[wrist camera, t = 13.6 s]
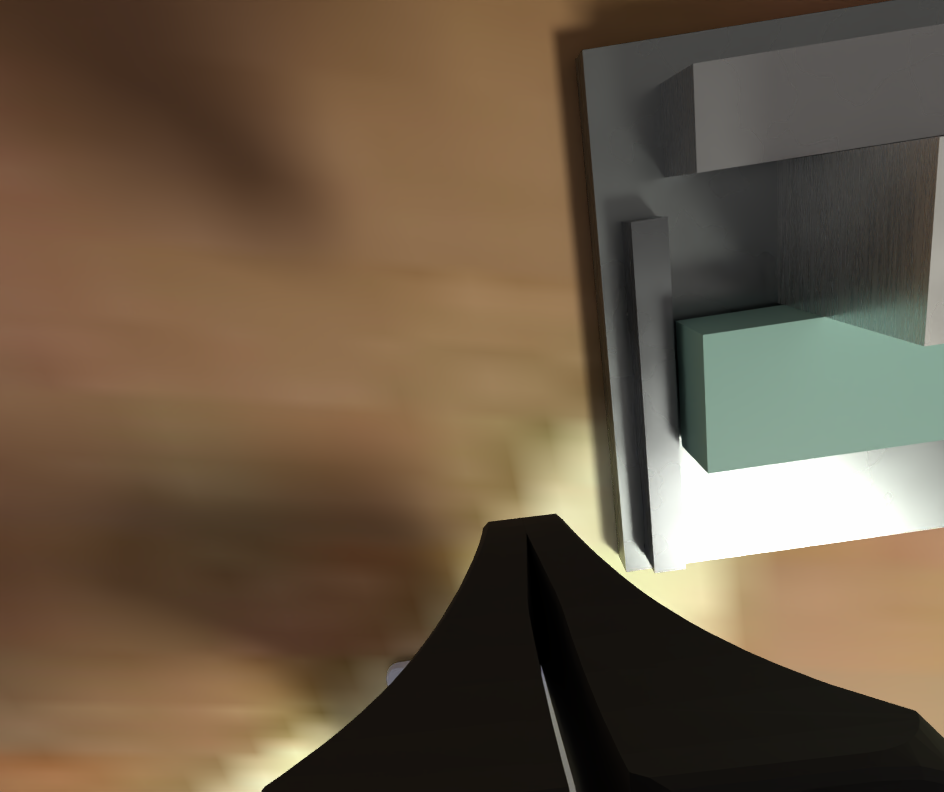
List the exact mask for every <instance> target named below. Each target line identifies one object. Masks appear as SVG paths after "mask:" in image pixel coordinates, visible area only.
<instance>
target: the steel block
mask: <svg viewBox="0 0 944 792" xmlns="http://www.w3.org/2000/svg"><path fill="white" fill-rule="evenodd" d="M778 303H779V304H783V305H786V306H790V307H793V308H796V309H800V310H803V311H806V312H810V313H813V314H816V315H820V316H823V317H827V318H830V319H833V320H837V321H840V322H843V323H847V324H850V325H854V326H857V327H860V328H864V329H867V330H870V331H874V332H877V333H881V334H884V335H887V336H891V337H894V338H897V339H901V340H904V341H908V342H911V343H914V344H918V345H921V346H931V345H938V344H944V135H943V136H936V137H930V138H923V139H917V140H910V141H904V142H897V143H891V144H884V145H878V146H872V147H865V148H859V149H852V150H846V151H839V152H833V153H826V154H820V155H813V156H807V157H800V158H794V159H788V160H781V161H778Z"/></svg>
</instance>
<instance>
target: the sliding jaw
mask: <svg viewBox="0 0 944 792" xmlns="http://www.w3.org/2000/svg"><path fill="white" fill-rule="evenodd" d="M676 338H677V358H678V378H679V399H680V419H681V439H682V447H683V448H684V449H685V450H686V451H687V452H688V453H689V454H690V455H691V456H692V457H693V458H694V459H695V460H696V462H697V463H698V464H699V465H700V466H701V467H702V468H703V469H704V470H705V471H706V472H707V473H708V474H710V473H717V472H724V471H731V470H738V469H745V468H752V467H759V466H766V465H772V464H779V463H786V462H793V461H800V460H807V459H814V458H821V457H828V456H835V455H842V454H849V453H856V452H863V451H870V450H877V449H884V448H891V447H898V446H905V445H912V444H919V443H926V442H933V441H940V440H944V344H938V345H931V346H921V345H918V344H914V343H911V342H908V341H904V340H901V339H897V338H894V337H891V336H887V335H884V334H881V333H877V332H874V331H870V330H867V329H864V328H860V327H857V326H854V325H850V324H847V323H843V322H840V321H837V320H833V319H830V318H827V317H823V316H820V315H816V314H813V313H810V312H806V311H803V310H800V309H796V308H793V307H790V306H786V305H779V306H772V307H766V308H759V309H752V310H746V311H739V312H732V313H725V314H719V315H712V316H705V317H699V318H692V319H685V320H679V321H676Z"/></svg>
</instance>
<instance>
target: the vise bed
mask: <svg viewBox="0 0 944 792" xmlns="http://www.w3.org/2000/svg"><path fill="white" fill-rule="evenodd" d="M575 60H576V71H577V82H578V94H579V105H580V117H581V128H582V140H583V151H584V163H585V174H586V186H587V197H588V208H589V220H590V231H591V243H592V254H593V266H594V277H595V289H596V300H597V312H598V323H599V334H600V346H601V357H602V369H603V380H604V392H605V403H606V415H607V426H608V438H609V449H610V460H611V472H612V483H613V495H614V506H615V518H616V529H617V541H618V552H619V557H620V560H621V562H622V564H623V566H624V568H625V570H626V572H629V571H636V570H643V569H650V568H652V569H653V571H654V573H659V572H667V571H674V570H681V569H686V563H693V562H700V561H707V560H714V559H721V558H729V557H736V556H743V555H750V554H757V553H764V552H771V551H778V550H786V549H793V548H800V547H807V546H814V545H821V544H828V543H835V542H843V541H850V540H857V539H864V538H871V537H878V536H885V535H892V534H900V533H907V532H914V531H921V530H928V529H935V528H942V527H944V440H940V441H933V442H926V443H919V444H912V445H905V446H898V447H891V448H884V449H877V450H870V451H863V452H856V453H849V454H842V455H835V456H828V457H821V458H814V459H807V460H800V461H793V462H786V463H779V464H772V465H766V466H759V467H752V468H745V469H738V470H731V471H724V472H717V473H710V474H708V473H707V472H706V471H705V470H704V469H703V468H702V467H701V466H700V465H699V464H698V463H697V462H696V460H695V459H694V458H693V457H692V456H691V455H690V454H689V453H688V452H687V451H686V450H685V449H684V448H683V447H682V439H681V419H680V399H679V378H678V358H677V338H676V321H679V320H685V319H692V318H699V317H705V316H712V315H719V314H725V313H732V312H739V311H746V310H752V309H759V308H766V307H772V306H779V305H783V304H779V303H778V161H781V160H788V159H794V158H800V157H807V156H813V155H820V154H826V153H833V152H839V151H846V150H852V149H859V148H865V147H872V146H878V145H884V144H891V143H897V142H904V141H910V140H917V139H923V138H930V137H936V136H943V135H944V0H893V1H886V2H880V3H874V4H868V5H861V6H855V7H849V8H843V9H836V10H830V11H824V12H818V13H811V14H805V15H799V16H793V17H786V18H780V19H774V20H768V21H761V22H755V23H749V24H743V25H736V26H730V27H724V28H718V29H711V30H705V31H699V32H693V33H686V34H680V35H674V36H668V37H661V38H655V39H649V40H643V41H636V42H630V43H624V44H618V45H611V46H605V47H599V48H593V49H586V50H582V51H581V53H580V54H579V55H578V56H577V58H576V59H575Z"/></svg>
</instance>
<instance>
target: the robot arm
mask: <svg viewBox="0 0 944 792" xmlns="http://www.w3.org/2000/svg"><path fill="white" fill-rule="evenodd" d="M386 681H387V685H388V687H387V688H386V689H385V690H384V691H383V692H382V693H381V694H380V695H379V696H378V697H377V698H376V699H375V700H374V701H373V702H372V703H371V704H370V705H369V706H368V707H367V708H366V709H364V710H363V711H362V712H361V713H360V714H359V715H358V716H357V717H356V718H354V719H353V720H352V721H351V722H350V723H349V724H347V725H346V726H345V727H344V728H343V729H342V730H341V731H339V732H338V733H337V734H336V735H334V736H333V737H332V738H331V739H329V740H328V741H327V742H326V743H324V744H323V745H322V746H320V747H319V748H318V749H316V750H315V751H314V752H312V753H311V754H310V755H308V756H307V757H306V758H304V759H303V760H301V761H300V762H299V763H297V764H296V765H295V766H293V767H292V768H291V769H289V770H288V771H287V772H285V773H284V774H282V775H281V776H280V777H278V778H277V779H275V780H274V781H272V782H271V783H270V784H268V785H267V786H265V787H264V788H263V790H262V792H944V738H943V737H942V736H941V735H940V734H939V733H938V732H937V731H936V730H935V729H934V728H933V727H932V726H931V725H930V724H929V723H928V722H927V721H926V720H925V719H924V718H923V717H921V716H920V715H919V714H918V713H917V712H916V711H914V710H911V709H908V708H904V707H901V706H898V705H895V704H892V703H888V702H885V701H882V700H879V699H875V698H872V697H869V696H866V695H863V694H859V693H856V692H853V691H850V690H846V689H843V688H840V687H837V686H834V685H830V684H828V683H825V682H822V681H819V680H816V679H814V678H811V677H809V676H806V675H804V674H801V673H798V672H796V671H793V670H791V669H788V668H785V667H783V666H780V665H778V664H775V663H773V662H771V661H768V660H766V659H764V658H761V657H759V656H757V655H754V654H752V653H750V652H748V651H745V650H743V649H741V648H739V647H737V646H735V645H733V644H731V643H729V642H727V641H725V640H723V639H721V638H719V637H717V636H715V635H713V634H711V633H709V632H707V631H705V630H703V629H702V628H700V627H698V626H696V625H694V624H692V623H691V622H689V621H687V620H686V619H684V618H682V617H681V616H679V615H677V614H676V613H674V612H673V611H671V610H669V609H668V608H666V607H664V606H663V605H661V604H660V603H658V602H657V601H655V600H654V599H652V598H651V597H649V596H648V595H646V594H645V593H643V592H642V591H641V590H639V589H638V588H637V587H636V586H634V585H633V584H632V583H630V582H629V581H628V580H626V579H625V578H624V577H623V576H622V575H620V574H619V573H618V572H617V571H616V570H614V569H613V568H612V567H611V566H610V565H609V564H608V563H606V562H605V561H604V560H603V559H602V558H601V557H600V556H598V555H597V554H596V553H595V552H594V551H593V550H592V549H591V548H590V547H589V546H588V545H587V544H586V543H585V542H584V541H583V540H582V539H581V538H580V537H579V536H578V535H577V534H576V533H575V532H574V531H573V530H572V529H571V528H570V527H569V526H568V525H567V524H566V523H565V522H564V521H563V519H561V518H560V517H559V516H558V515H557V514H550V515H541V516H533V517H525V518H517V519H508V520H500V521H492V522H488V523H487V524H486V525H485V527H484V528H483V532H482V536H481V540H480V543H479V546H478V549H477V551H476V554H475V556H474V559H473V561H472V563H471V565H470V567H469V569H468V572H467V574H466V576H465V578H464V580H463V582H462V584H461V586H460V588H459V590H458V592H457V593H456V595H455V597H454V598H453V600H452V602H451V604H450V605H449V607H448V609H447V610H446V612H445V614H444V615H443V617H442V619H441V620H440V622H439V623H438V625H437V626H436V628H435V629H434V631H433V632H432V633H431V635H430V636H429V638H428V639H427V640H426V642H425V643H424V644H423V646H422V647H421V648H420V650H419V651H418V652H417V654H416V655H415V656H414V657H413V659H412V660H411V661H403V662H397V663H394V664H392V665H391V666H390V667H389V669H388V671H387V678H386Z"/></svg>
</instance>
